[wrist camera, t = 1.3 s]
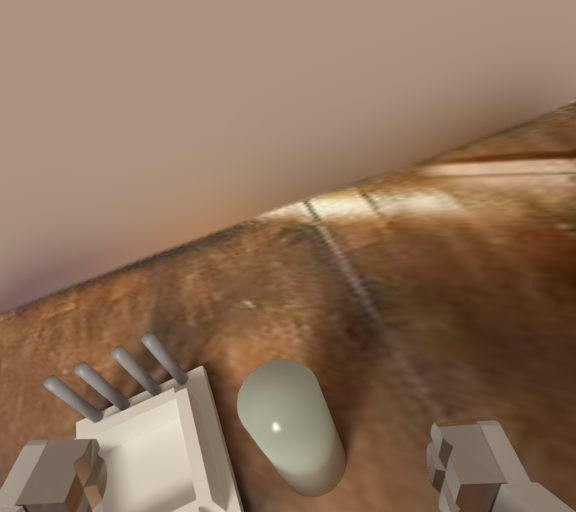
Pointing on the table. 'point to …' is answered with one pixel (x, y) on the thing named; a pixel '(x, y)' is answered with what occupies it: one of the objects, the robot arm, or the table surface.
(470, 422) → the robot arm
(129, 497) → the dish rack
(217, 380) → the table surface
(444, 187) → the table surface
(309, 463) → the pale green canister
